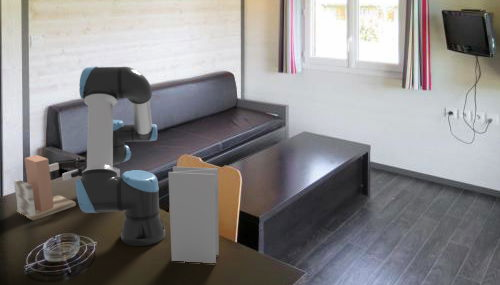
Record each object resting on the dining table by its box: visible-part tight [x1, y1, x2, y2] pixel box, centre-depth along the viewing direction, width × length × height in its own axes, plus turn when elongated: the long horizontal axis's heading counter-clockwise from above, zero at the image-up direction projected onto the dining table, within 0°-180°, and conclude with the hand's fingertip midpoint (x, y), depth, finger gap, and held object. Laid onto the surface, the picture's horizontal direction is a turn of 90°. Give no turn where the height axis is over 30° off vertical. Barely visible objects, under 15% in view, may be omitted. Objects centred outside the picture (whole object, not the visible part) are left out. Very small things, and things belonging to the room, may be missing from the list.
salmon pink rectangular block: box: [24, 154, 54, 211], centre depth 183 cm, size 8×5×20 cm, turn 54°
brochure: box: [168, 166, 220, 264], centre depth 148 cm, size 14×6×30 cm, turn 84°
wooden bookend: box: [13, 178, 77, 221], centre depth 186 cm, size 12×18×14 cm, turn 144°
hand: (52, 173), depth 187 cm, fingers open, 13 cm apart
